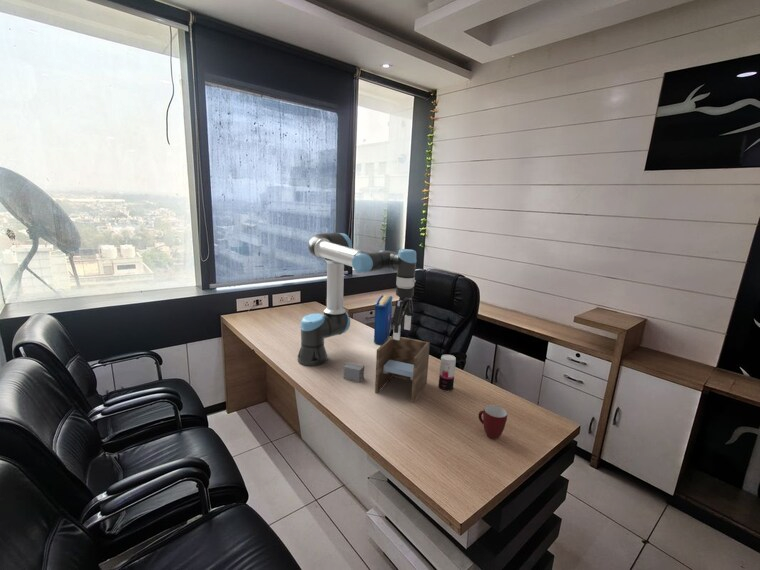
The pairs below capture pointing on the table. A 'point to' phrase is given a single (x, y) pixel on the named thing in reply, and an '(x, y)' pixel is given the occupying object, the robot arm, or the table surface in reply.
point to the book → (382, 319)
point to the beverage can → (447, 372)
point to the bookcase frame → (405, 353)
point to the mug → (493, 420)
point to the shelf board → (399, 368)
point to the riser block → (353, 372)
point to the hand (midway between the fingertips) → (401, 334)
